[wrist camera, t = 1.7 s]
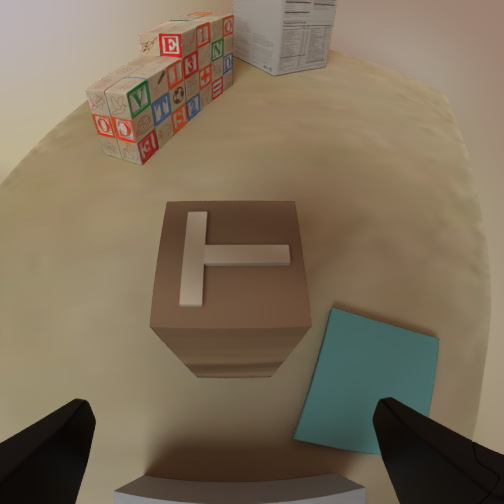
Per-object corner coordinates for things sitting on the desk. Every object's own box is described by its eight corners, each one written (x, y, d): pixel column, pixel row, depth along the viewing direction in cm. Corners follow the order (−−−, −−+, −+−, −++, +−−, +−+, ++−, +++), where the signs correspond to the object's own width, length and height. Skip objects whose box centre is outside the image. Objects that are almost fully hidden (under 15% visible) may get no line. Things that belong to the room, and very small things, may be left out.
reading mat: (413, 457, 15) (417, 457, 15) (292, 438, 17) (294, 438, 16) (435, 340, 20) (439, 338, 20) (330, 310, 22) (332, 307, 21)
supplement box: (327, 67, 46) (342, -13, 31) (273, 77, 42) (283, -20, 27) (281, 46, 52) (289, -24, 37) (229, 55, 47) (231, -26, 32)
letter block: (270, 376, 19) (312, 324, 9) (197, 377, 19) (147, 324, 8) (267, 310, 22) (295, 198, 11) (199, 310, 21) (165, 198, 11)
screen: (335, 490, 15) (365, 509, 10) (144, 493, 14) (115, 513, 9) (334, 472, 15) (366, 487, 11) (143, 475, 15) (113, 491, 10)
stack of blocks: (143, 167, 29) (118, 65, 19) (104, 155, 30) (76, 65, 20) (233, 85, 40) (235, 12, 29) (198, 78, 41) (195, 10, 31)
